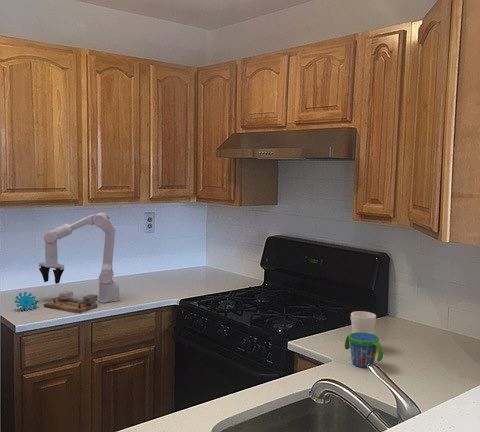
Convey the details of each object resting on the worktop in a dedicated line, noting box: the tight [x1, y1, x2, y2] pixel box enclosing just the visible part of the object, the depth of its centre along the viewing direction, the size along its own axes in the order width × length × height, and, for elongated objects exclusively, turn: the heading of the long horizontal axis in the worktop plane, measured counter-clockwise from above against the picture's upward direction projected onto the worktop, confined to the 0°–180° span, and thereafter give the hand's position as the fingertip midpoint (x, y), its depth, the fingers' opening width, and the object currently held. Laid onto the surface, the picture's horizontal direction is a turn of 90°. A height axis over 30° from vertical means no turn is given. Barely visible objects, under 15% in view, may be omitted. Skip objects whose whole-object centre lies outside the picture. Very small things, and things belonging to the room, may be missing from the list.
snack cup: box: [344, 332, 384, 368], centre depth 191 cm, size 16×10×10 cm
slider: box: [52, 290, 74, 303], centre depth 259 cm, size 11×4×4 cm, turn 155°
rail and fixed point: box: [56, 294, 98, 307], centre depth 257 cm, size 11×21×4 cm, turn 65°
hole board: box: [43, 299, 98, 314], centre depth 256 cm, size 12×22×2 cm, turn 65°
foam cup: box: [350, 310, 377, 334], centre depth 208 cm, size 10×9×13 cm
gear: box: [14, 291, 40, 312], centre depth 252 cm, size 11×6×10 cm
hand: (51, 282), depth 265 cm, fingers open, 7 cm apart
